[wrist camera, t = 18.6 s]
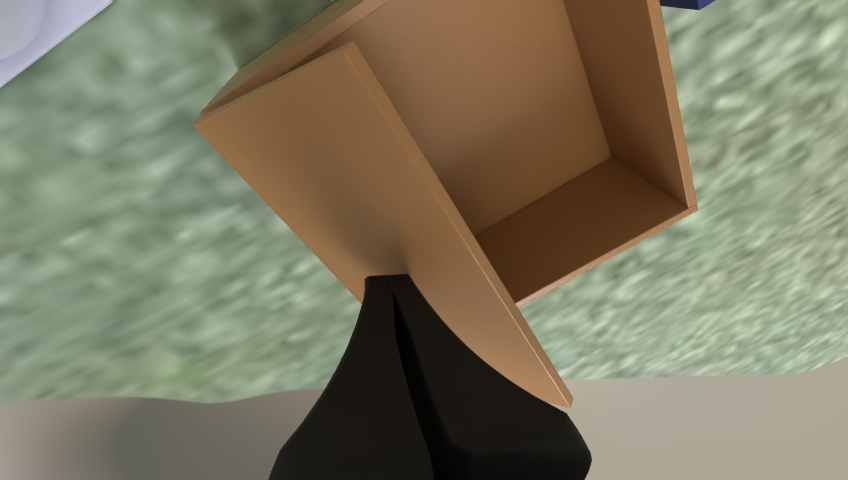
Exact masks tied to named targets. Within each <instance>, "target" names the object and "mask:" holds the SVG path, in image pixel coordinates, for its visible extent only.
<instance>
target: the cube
mask: <svg viewBox="0 0 848 480" xmlns="http://www.w3.org/2000/svg"><path fill="white" fill-rule="evenodd" d="M659 1H660V6H667V7H676V8H685V9H694V10H700V9H702V8H704V7H705V6H707V5H709V4H710V3H712V2H713V1H715V0H659Z"/></svg>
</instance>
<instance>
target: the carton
mask: <svg viewBox="0 0 848 480" xmlns="http://www.w3.org/2000/svg"><path fill="white" fill-rule="evenodd" d="M351 41H354V42H355V44H356V45H357V47H358V49H359V50H360V52H361V53H362V55H363V57H364V58H365V60H366V62H367V63H368V65H369V66H370V68H371V70H372V71H373V73H374V75H375V76H376V78H377V80H378V81H379V83H380V84H381V86H382V88H383V89H384V91H385V93H386V94H387V96H388V97H389V99H390V101H391V102H392V104H393V106H394V107H395V109H396V110H397V112H398V114H399V115H400V117H401V119H402V120H403V122H404V123H405V125H406V127H407V128H408V130H409V132H410V133H411V135H412V136H413V138H414V140H415V141H416V143H417V145H418V146H419V148H420V150H421V151H422V153H423V154H424V156H425V158H426V159H427V161H428V163H429V164H430V166H431V167H432V169H433V171H434V172H435V174H436V176H437V177H438V179H439V180H440V182H441V184H442V185H443V187H444V189H445V190H446V192H447V193H448V195H449V197H450V198H451V200H452V202H453V203H454V205H455V207H456V208H457V210H458V211H459V213H460V215H461V216H462V218H463V220H464V221H465V223H466V224H467V226H468V228H469V229H470V231H471V233H472V234H473V236H474V237H475V239H476V241H477V242H478V244H479V246H480V247H481V249H482V250H483V252H484V254H485V255H486V257H487V259H488V260H489V262H490V264H491V265H492V267H493V268H494V270H495V272H496V273H497V275H498V277H499V278H500V280H501V281H502V283H503V285H504V286H505V288H506V290H507V291H508V293H509V294H510V296H511V298H512V299H513V301H514V303H515V304H516V306H517V307H518V308H519V307H521V306H523V305H525V304H526V303H528V302H530V301H532V300H534V299H536V298H538V297H539V296H541V295H543V294H545V293H547V292H549V291H550V290H552V289H554V288H556V287H558V286H560V285H561V284H563V283H565V282H567V281H569V280H571V279H572V278H574V277H576V276H578V275H580V274H582V273H584V272H585V271H587V270H589V269H591V268H593V267H595V266H596V265H598V264H600V263H602V262H604V261H606V260H607V259H609V258H611V257H613V256H615V255H617V254H618V253H620V252H622V251H624V250H626V249H628V248H630V247H631V246H633V245H635V244H637V243H639V242H641V241H642V240H644V239H646V238H648V237H650V236H652V235H653V234H655V233H657V232H659V231H661V230H663V229H664V228H666V227H668V226H670V225H672V224H674V223H676V222H677V221H679V220H681V219H683V218H685V217H687V216H688V215H690V214H692V213H694V212H696V211H697V210H698V208H697V204H696V203H697V202H696V197H695V191H694V186H693V181H692V175H691V170H690V164H689V159H688V153H687V148H686V143H685V137H684V132H683V126H682V121H681V115H680V110H679V105H678V99H677V94H676V88H675V83H674V77H673V72H672V67H671V61H670V56H669V50H668V45H667V39H666V34H665V29H664V23H663V18H662V12H661V7H660V1H659V0H338V1H337V2H335V3H334V4H332V5H331V6H329V7H328V8H327V9H325V10H324V11H322V12H321V13H319V14H318V15H317V16H315V17H314V18H312V19H311V20H309V21H308V22H307V23H305V24H304V25H302V26H301V27H299V28H298V29H297V30H295V31H294V32H292V33H291V34H289V35H288V36H286V37H285V38H284V39H282V40H281V41H279V42H278V43H276V44H275V45H274V46H272V47H271V48H269V49H268V50H266V51H265V52H264V53H262V54H261V55H259V56H258V57H256V58H255V59H254V60H252V61H251V62H249V63H248V64H246V65H245V66H244V67H242V68H241V69H239V70H238V71H237V72H236V73H235V75H234V76H233V77H232V78H231V79H230V80H229V81H228V82H227V83H226V85H225V86H224V87H223V88H222V89H221V90H220V91H219V92H218V94H217V95H216V96H215V97H214V98H213V99H212V100H211V101H210V102H209V104H208V105H207V106H206V107H205V108H204V109H203V110H202V111H201V115H202V116H203V115H205V114H207V113H209V112H211V111H213V110H215V109H217V108H219V107H221V106H223V105H225V104H227V103H229V102H231V101H233V100H235V99H237V98H239V97H241V96H243V95H245V94H247V93H249V92H251V91H253V90H255V89H257V88H259V87H261V86H263V85H265V84H267V83H269V82H271V81H273V80H275V79H277V78H279V77H281V76H283V75H285V74H287V73H289V72H291V71H293V70H295V69H297V68H299V67H301V66H303V65H305V64H307V63H309V62H311V61H313V60H315V59H317V58H319V57H321V56H323V55H325V54H327V53H329V52H331V51H333V50H335V49H337V48H339V47H341V46H343V45H345V44H347V43H349V42H351Z"/></svg>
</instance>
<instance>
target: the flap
mask: <svg viewBox="0 0 848 480" xmlns="http://www.w3.org/2000/svg"><path fill="white" fill-rule="evenodd" d="M193 126H194V127H195V128H196V129H197V130H198V131H199V132H200V133H201V134H202V135H203V136H204V137H205V139H206V140H207V141H208V142H209V143H210V144H211V145H212V146H213V147H214V148H215V149H216V150H217V151H218V152H219V153H220V154H221V155H222V157H223V158H224V159H225V160H226V161H227V162H228V163H229V164H230V165H231V166H232V167H233V168H234V169H235V170H236V171H237V172H238V173H239V175H240V176H241V177H242V178H243V179H244V180H245V181H246V182H247V183H248V184H249V185H250V186H251V187H252V188H253V189H254V190H255V191H256V193H257V194H258V195H259V196H260V197H261V198H262V199H263V200H264V201H265V202H266V203H267V204H268V205H269V206H270V207H271V208H272V209H273V211H274V212H275V213H276V214H277V215H278V216H279V217H280V218H281V219H282V220H283V221H284V222H285V223H286V224H287V225H288V226H289V227H290V229H291V230H292V231H293V232H294V233H295V234H296V235H297V236H298V237H299V238H300V239H301V240H302V241H303V242H304V243H305V244H306V245H307V247H308V248H309V249H310V250H311V251H312V252H313V253H314V254H315V255H316V256H317V257H318V258H319V259H320V260H321V261H322V262H323V263H324V265H325V266H326V267H327V268H328V269H329V270H330V271H331V272H332V273H333V274H334V275H335V276H336V277H337V278H338V279H339V280H340V281H341V283H342V284H343V285H344V286H345V287H346V288H347V289H348V290H349V291H350V292H351V293H352V294H353V295H354V296H355V297H356V298H357V299H358V301H359V302H360V303H361V304H362V302H363V297H364V291H365V278H366V277H368V276H376V275H395V274H408V275H409V276H410V277H411V278H412V280H413V281H414V283H415V285H416V286H417V288H418V289H419V290H420V292H421V293H422V295H423V296H424V297H425V299H426V300H427V301H428V303H429V304H430V305H431V307H432V308H433V309H434V310H435V312H436V313H437V314H438V315H439V316H440V318H441V319H442V320H443V321H444V322H445V323H446V325H447V326H448V327H449V328H450V329H451V330H452V331H453V332H454V333H455V334H456V335H457V336H458V337H459V338H460V339H461V340H462V341H463V342H464V343H465V344H466V345H467V346H468V347H469V348H470V349H471V350H472V351H473V352H474V353H476V354H477V355H478V356H479V357H480V358H481V359H483V360H484V361H485V362H486V363H487V364H489V365H490V366H491V367H493V368H494V369H495V370H497V371H498V372H499V373H501V374H502V375H503V376H505V377H506V378H507V379H509V380H510V381H512V382H513V383H515V384H516V385H518V386H519V387H521V388H523V389H524V390H526V391H527V392H529V393H531V394H532V395H534V396H536V397H537V398H539V399H541V400H543V401H545V402H549V403H553V404H557V405H561V406H565V407H571V404H572V401H573V397H572V395H571V394H570V392H569V391H568V389H567V387H566V386H565V384H564V383H563V381H562V379H561V377H560V376H559V374H558V373H557V371H556V369H555V368H554V366H553V364H552V363H551V361H550V360H549V358H548V356H547V355H546V353H545V351H544V350H543V348H542V347H541V345H540V343H539V342H538V340H537V338H536V337H535V335H534V334H533V332H532V330H531V329H530V327H529V325H528V324H527V322H526V320H525V319H524V317H523V316H522V314H521V312H520V311H519V309H518V307H517V306H516V304H515V303H514V301H513V299H512V298H511V296H510V294H509V293H508V291H507V290H506V288H505V286H504V285H503V283H502V281H501V280H500V278H499V277H498V275H497V273H496V272H495V270H494V268H493V267H492V265H491V264H490V262H489V260H488V259H487V257H486V255H485V254H484V252H483V250H482V249H481V247H480V246H479V244H478V242H477V241H476V239H475V237H474V236H473V234H472V233H471V231H470V229H469V228H468V226H467V224H466V223H465V221H464V220H463V218H462V216H461V215H460V213H459V211H458V210H457V208H456V207H455V205H454V203H453V202H452V200H451V198H450V197H449V195H448V193H447V192H446V190H445V189H444V187H443V185H442V184H441V182H440V180H439V179H438V177H437V176H436V174H435V172H434V171H433V169H432V167H431V166H430V164H429V163H428V161H427V159H426V158H425V156H424V154H423V153H422V151H421V150H420V148H419V146H418V145H417V143H416V141H415V140H414V138H413V136H412V135H411V133H410V132H409V130H408V128H407V127H406V125H405V123H404V122H403V120H402V119H401V117H400V115H399V114H398V112H397V110H396V109H395V107H394V106H393V104H392V102H391V101H390V99H389V97H388V96H387V94H386V93H385V91H384V89H383V88H382V86H381V84H380V83H379V81H378V80H377V78H376V76H375V75H374V73H373V71H372V70H371V68H370V66H369V65H368V63H367V62H366V60H365V58H364V57H363V55H362V53H361V52H360V50H359V49H358V47H357V45H356V44H355V42H354V41H351V42H349V43H347V44H345V45H343V46H341V47H339V48H337V49H335V50H333V51H331V52H329V53H327V54H325V55H323V56H321V57H319V58H317V59H315V60H313V61H311V62H309V63H307V64H305V65H303V66H301V67H299V68H297V69H295V70H293V71H291V72H289V73H287V74H285V75H283V76H281V77H279V78H277V79H275V80H273V81H271V82H269V83H267V84H265V85H263V86H261V87H259V88H257V89H255V90H253V91H251V92H249V93H247V94H245V95H243V96H241V97H239V98H237V99H235V100H233V101H231V102H229V103H227V104H225V105H223V106H221V107H219V108H217V109H215V110H213V111H211V112H209V113H207V114H205V115H203V116H201V117H200V118H199V119H197V120H196V121H195V122H194V123H193Z"/></svg>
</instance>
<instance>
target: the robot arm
mask: <svg viewBox="0 0 848 480" xmlns="http://www.w3.org/2000/svg"><path fill="white" fill-rule="evenodd" d="M112 2H113V0H0V88H1V87H2V86H4V85H5V84H6V83H8V82H9V81H10V80H11V79H13V78H14V77H15V76H17V75H18V74H19V73H21V72H22V71H23V70H25V69H26V68H27V67H29V66H30V65H31V64H32V63H34V62H35V61H36V60H38V59H39V58H40V57H42V56H43V55H44V54H46V53H47V52H48V51H50V50H51V49H52V48H53V47H55V46H56V45H57V44H59V43H60V42H61V41H63V40H64V39H65V38H67V37H68V36H69V35H70V34H72V33H73V32H74V31H76V30H77V29H78V28H80V27H81V26H82V25H84V24H85V23H86V22H88V21H89V20H90V19H91V18H93V17H94V16H95V15H97V14H98V13H99V12H101V11H102V10H103V9H105V8H106V7H107V6H108V5H110V4H111V3H112ZM591 462H592V458H591V453H590V451H589V449H588V447H587V445H586V443H585V441H584V440H583V438H582V436H581V434H580V433H579V431H578V429H577V428H576V426H575V425H574V424H573V422H572V421H571V419H570V418H569V416H568V415H567V414H566V413H565V412H563V411H561V410H559V409H558V408H556V407H554V406H552V405H550V404H548V403H546V402H545V401H543V400H541V399H539V398H537V397H536V396H534V395H532V394H531V393H529V392H527V391H526V390H524V389H523V388H521V387H519V386H518V385H516V384H515V383H513V382H512V381H510V380H509V379H507V378H506V377H505V376H503V375H502V374H501V373H499V372H498V371H497V370H495V369H494V368H493V367H491V366H490V365H489V364H487V363H486V362H485V361H484V360H483V359H481V358H480V357H479V356H478V355H477V354H476V353H474V352H473V351H472V350H471V349H470V348H469V347H468V346H467V345H466V344H465V343H464V342H463V341H462V340H461V339H460V338H459V337H458V336H457V335H456V334H455V333H454V332H453V331H452V330H451V329H450V328H449V327H448V326H447V325H446V323H445V322H444V321H443V320H442V319H441V318H440V316H439V315H438V314H437V313H436V312H435V310H434V309H433V308H432V307H431V305H430V304H429V303H428V301H427V300H426V299H425V297H424V296H423V295H422V293H421V292H420V290H419V289H418V288H417V286H416V285H415V283H414V281H413V280H412V278H411V277H410V276H409V275H408V274H395V275H376V276H368V277H366V278H365V291H364V297H363V302H362V306H361V310H360V313H359V317H358V320H357V323H356V326H355V329H354V331H353V334H352V336H351V339H350V342H349V344H348V346H347V349H346V351H345V353H344V355H343V357H342V359H341V361H340V363H339V365H338V367H337V369H336V371H335V373H334V374H333V376H332V378H331V380H330V381H329V383H328V385H327V387H326V388H325V390H324V392H323V393H322V395H321V396H320V398H319V399H318V401H317V402H316V404H315V405H314V406H313V408H312V409H311V411H310V412H309V414H308V415H307V417H306V418H305V419H304V421H303V422H302V423H301V425H300V426H299V427H298V428H297V430H296V431H295V432H294V433H293V435H292V436H291V437H290V438H289V440H288V441H287V442H286V443H285V445H284V446H283V447H282V448H281V450H280V452H279V454H278V457H277V459H276V462H275V464H274V466H273V469H272V471H271V474H270V477H269V479H268V480H585V478H586V476H587V474H588V471H589V469H590V465H591Z"/></svg>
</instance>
